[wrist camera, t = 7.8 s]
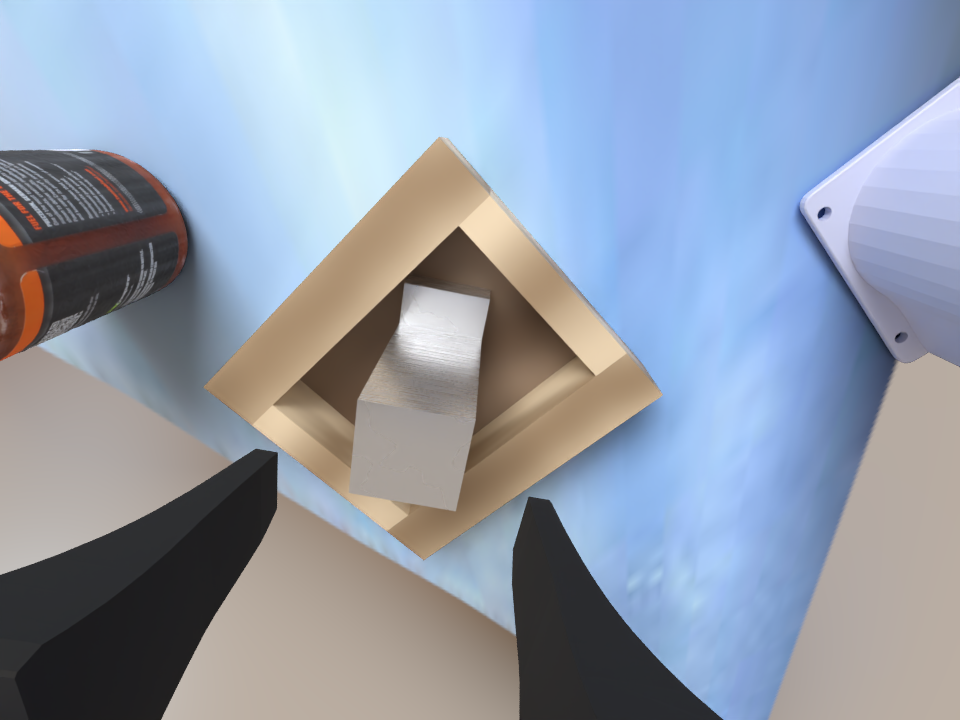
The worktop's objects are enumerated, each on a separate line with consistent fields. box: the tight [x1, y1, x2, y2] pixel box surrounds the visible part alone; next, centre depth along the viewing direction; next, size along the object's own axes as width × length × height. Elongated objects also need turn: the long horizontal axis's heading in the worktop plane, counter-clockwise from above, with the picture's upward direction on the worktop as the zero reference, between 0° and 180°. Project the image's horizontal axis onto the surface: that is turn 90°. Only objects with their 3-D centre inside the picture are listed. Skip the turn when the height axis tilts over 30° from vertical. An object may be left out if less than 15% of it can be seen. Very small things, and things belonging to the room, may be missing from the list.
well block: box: [204, 137, 663, 560], centre depth 21 cm, size 13×14×3 cm
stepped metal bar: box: [349, 274, 491, 511], centre depth 18 cm, size 4×7×8 cm, turn 169°
